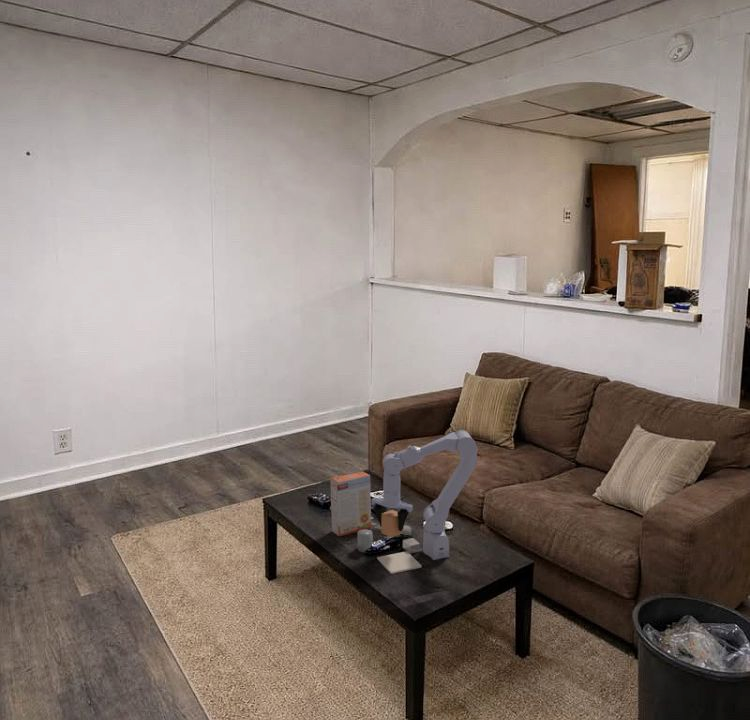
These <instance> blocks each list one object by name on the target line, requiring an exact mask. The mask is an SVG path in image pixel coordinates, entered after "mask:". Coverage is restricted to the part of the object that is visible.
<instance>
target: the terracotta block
mask: <svg viewBox="0 0 750 720" xmlns="http://www.w3.org/2000/svg"><path fill="white" fill-rule="evenodd" d="M398 512H399V511H396V510H395V509H391V510H387V511H385V513H382V518H381V527H380V528H381V529H380V530H381V534H383V535H385V536H387V537H389V538H394V537H396V536H397V535H400V534H402V531H399V519H398V514H397V513H398Z"/></svg>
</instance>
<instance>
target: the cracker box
mask: <svg viewBox="0 0 750 720" xmlns="http://www.w3.org/2000/svg"><path fill="white" fill-rule="evenodd" d="M371 494H372V493H371V475H370V474H368V473H366V472H365V471H358V472H353V473H350V474H345V475H339V476H335V477H330V508H331V509H330V511H331V512H330V513H331V532H332V533H333V534H335V535H336V536H337V537H339V538H340V537H344V536H347V535H350V534H353V533H357V532H358V531H359V530H363V529H367V530H370V529H371V528H372V512H371V511H372V510H371V509H372V508H371V507H372V501H371V500H372V498H371V497H372V495H371Z"/></svg>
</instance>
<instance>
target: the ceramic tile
mask: <svg viewBox="0 0 750 720" xmlns="http://www.w3.org/2000/svg"><path fill="white" fill-rule="evenodd" d="M376 558H377V560H378V561H379V562H380V564H381V565H382V566H383V567H384V568H385V569H386V570H387V572H389V574H390V575H392V574H398V573H401V572H406V571H412V570H416V569H419V568H421V569H422V567H423V566H422V564H420V562H419V561H418V560H416V559H415V558H414V556H412V555H411V554H409V553H408V552H407V551H406V550H405V551H402V552H396V553H391V554H387V555H382V556H377V557H376Z"/></svg>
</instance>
